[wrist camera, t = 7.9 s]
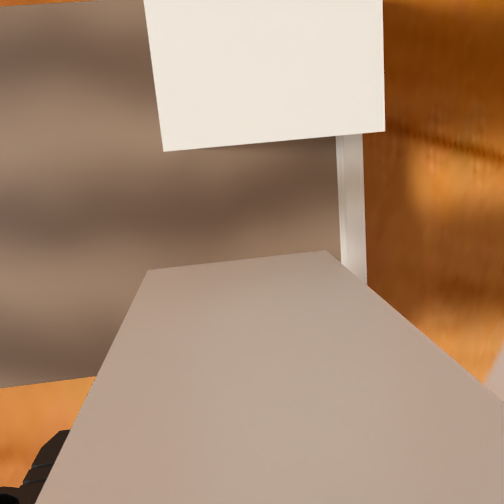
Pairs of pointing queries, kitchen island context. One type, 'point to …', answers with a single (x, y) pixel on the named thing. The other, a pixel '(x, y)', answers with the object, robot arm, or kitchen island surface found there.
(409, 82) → the kitchen island surface
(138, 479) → the tall carton
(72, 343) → the shelf board
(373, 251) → the kitchen island surface
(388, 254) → the kitchen island surface
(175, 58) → the faced carton
